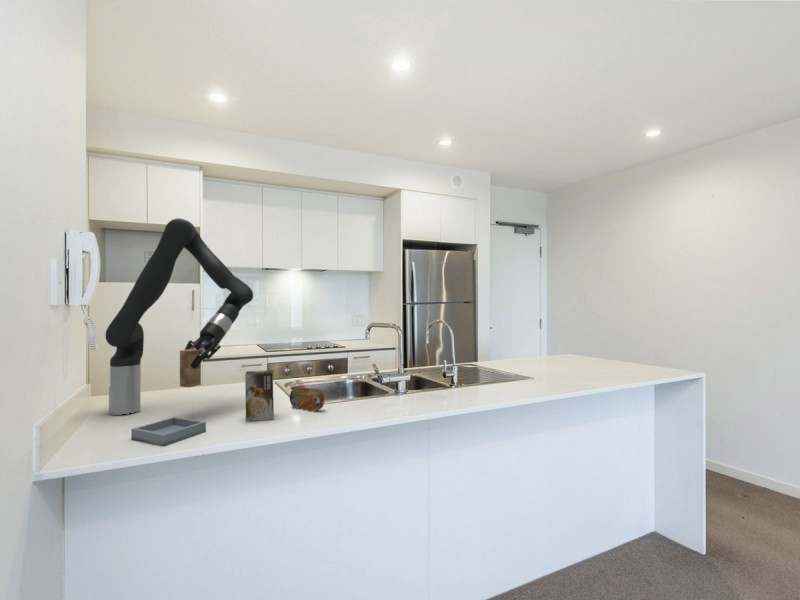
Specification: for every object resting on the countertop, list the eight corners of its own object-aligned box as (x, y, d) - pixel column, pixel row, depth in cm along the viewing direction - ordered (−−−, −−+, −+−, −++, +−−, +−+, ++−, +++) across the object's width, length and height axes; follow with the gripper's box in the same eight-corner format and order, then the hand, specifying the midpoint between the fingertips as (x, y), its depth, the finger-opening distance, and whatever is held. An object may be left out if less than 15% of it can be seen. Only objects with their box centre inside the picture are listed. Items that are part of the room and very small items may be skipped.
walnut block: (179, 386, 138) (179, 350, 138) (191, 383, 142) (191, 349, 142) (189, 387, 136) (189, 351, 136) (200, 384, 140) (200, 349, 140)
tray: (131, 439, 120) (131, 429, 120) (174, 425, 133) (174, 416, 133) (164, 446, 114) (164, 435, 114) (205, 431, 127) (205, 421, 127)
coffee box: (274, 414, 146) (274, 369, 146) (273, 419, 140) (273, 372, 140) (246, 416, 143) (246, 370, 143) (244, 421, 137) (244, 374, 137)
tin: (288, 408, 155) (288, 385, 155) (294, 406, 158) (294, 384, 158) (320, 413, 148) (320, 389, 148) (325, 411, 151) (325, 388, 151)
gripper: (196, 321, 149) (165, 358, 138) (225, 322, 143) (196, 361, 132) (208, 334, 154) (179, 371, 143) (237, 336, 148) (209, 374, 137)
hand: (187, 366), depth 138 cm, fingers closed on walnut block, 4 cm apart
